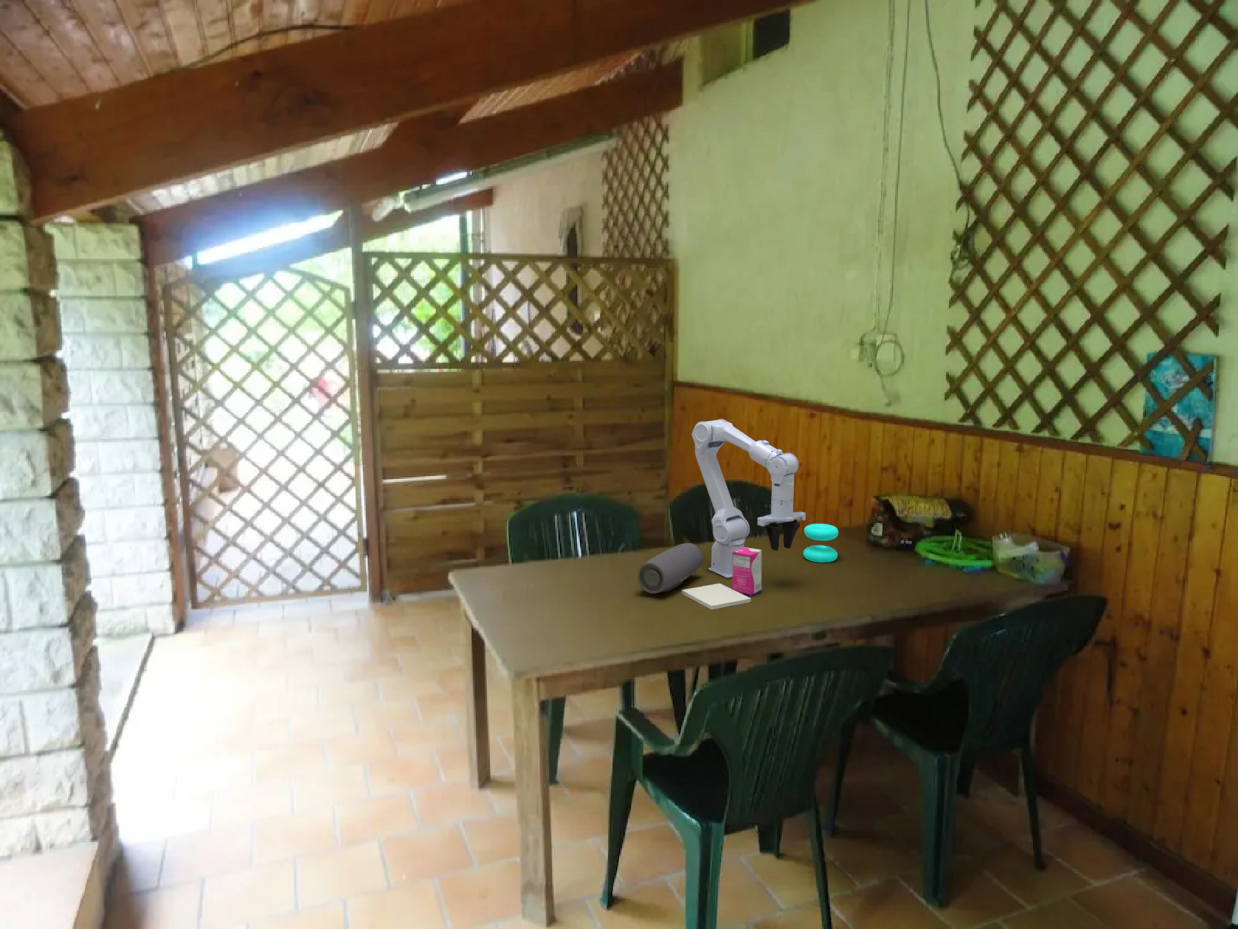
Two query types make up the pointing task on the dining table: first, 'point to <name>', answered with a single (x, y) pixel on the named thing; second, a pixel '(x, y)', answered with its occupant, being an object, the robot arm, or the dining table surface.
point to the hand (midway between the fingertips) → (780, 548)
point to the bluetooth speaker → (669, 568)
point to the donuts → (820, 551)
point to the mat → (716, 596)
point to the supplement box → (747, 571)
